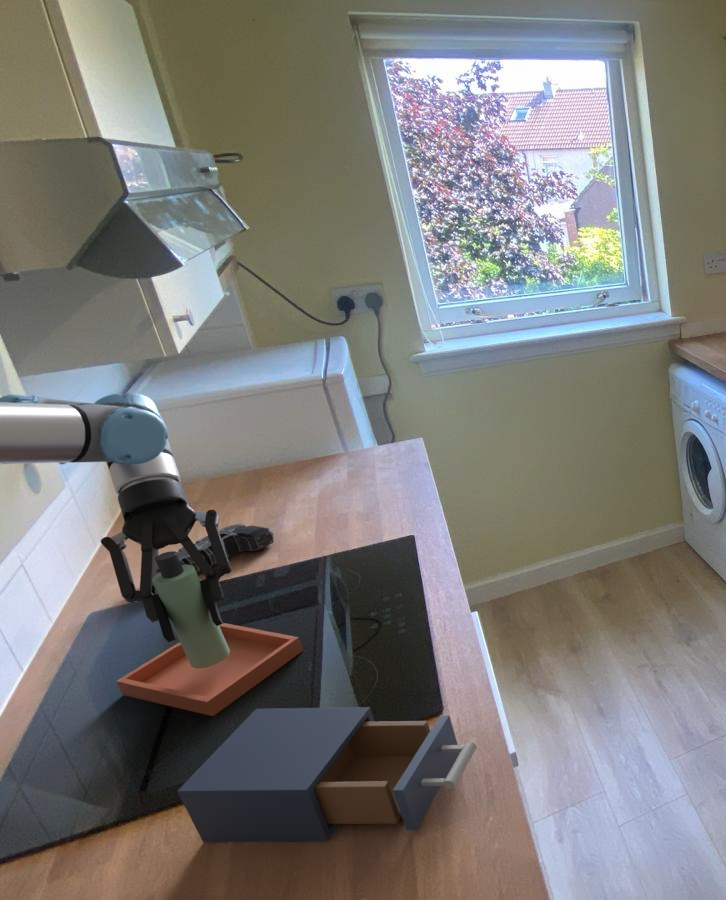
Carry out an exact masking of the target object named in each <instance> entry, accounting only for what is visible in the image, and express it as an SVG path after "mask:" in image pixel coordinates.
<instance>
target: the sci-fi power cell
mask: <svg viewBox="0 0 726 900" xmlns="http://www.w3.org/2000/svg"><path fill="white" fill-rule="evenodd" d="M218 531H219V534H220V537H221V540H222V543H223V546H224V549H225V551H226V554H227V557H228V559H230V558H231V557H232V556H234V555H236V554H238V553H242V552H248V551H249V552H258V551H260V550H262V549H265V548H266V547H268V546H270V545H271V544H273V543H274V542H275V541H274V540H275V533H274V532H273V531H272V530H271V529H270V528H269V527H265V526H260V525H246V524H243V523H237V524H231V525H227V526H225V527H223V528H220V529H219V530H218ZM194 545H195V546H196V547H197V549H198V550H199V551H200V553H201V554H202V556H203V557H204V558H205V560H206V561H207V562H208V564H209V565H210V566H211V568H212V567H215V566H216V565H218V564H217V561H216V558H215V555H214V552H213V549H212V546H211V543H210V540H209V537H208V535H207V536H204V537H202V538H200V539H198V540H196V541H195V543H194ZM174 552H176V554H177V556H178V558H179V560H180V563H181V565H192V566H194V568H195V570H196V572H197V575H199V573H202V571H201V570H200V569H199V567H198V566H197V565H196V563H195V562H194V561H193V559H192V558H191V557H190V555H189V554H188V553H187V551H186V550H185V549H184V547H183V546H182V547H180V548H179V549H178V550H177V551H176V550H174ZM158 573H160V570H159V568H158V566H157V572H156V575H157V574H158Z"/></svg>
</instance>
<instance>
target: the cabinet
mask: <svg viewBox="0 0 726 900" xmlns="http://www.w3.org/2000/svg"><path fill="white" fill-rule="evenodd" d="M363 722H376V721H375V719H374V716H373V713H372V710H371V707H370V706H367V707H366V706H363V707H362V706H361V707H359V706H358V707H357V706H356V707H351V706H350V707H291V708H290V707H287V708H286V707H285V708H282V707H281V708H276V707H275V708H255V709H254V710H253V711H252V712H251V713H250V714H249V715H248V717H247V718H246V719H245V720H244V721H243V722H242V723H241V724H240V725H239V726H238V727H237V728H236V729H235V730H234V731H233V732H232V733H231V734H230V736H228V737H227V739H226V740H225V741H223V742H222V744H221V745H220V746H219V747H218V748H217V749H216V750H215V751H214V752H213V753H212V754H211V755H210V756H209V757H208V758H207V759H206V760H205V761H204V763H202V764H201V766H200V767H199V768H197V770H195V772H194V773H193V774H192V775H190V777H189V778H188V779H187V780H186V781H185V782H184V783H183V785H181V787H180V788H179V789H177V791H176V792H177V794H178V796H179V798H180V800H181V802H182V804H183V805H184V808H185V810H186V811H187V814H188V816H189V818H190V819H191V821H192V823H193V825H194V827H195V829H196V831H197V834H198V835H199V838H200V840H201V842H202V843H291V842H293V843H296V842H297V843H298V842H299V843H303V842H306V843H307V842H308V843H309V842H329V841H330V839H331V837H332V836H333V835H334V833H335V831H336V830H337V828H338V827H339V826H340V824H327V823H326V820H325V818H324V815H323V813H322V810H321V808H320V805H319V803H318V800H317V798H316V796H315V793H314V791H313V789H314V787H315V786H316V785H317V783H318V782H319V781H320V779H321V778H322V777H323V775H324V774H325V773H326V771H327V770H328V769H329V767H330V766H331V765H332V763H333V762H334V761H335V760H336V758H337V757H338V756H339V754H340V753H341V752H342V750H343V749H344V748H345V746H346V745H347V744H348V742H349V741H350V740H351V738H352V737H353V736H354V734H355V733H356V732H357V730H358V729H359V728H360V726H361V725H362V724H363Z"/></svg>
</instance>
